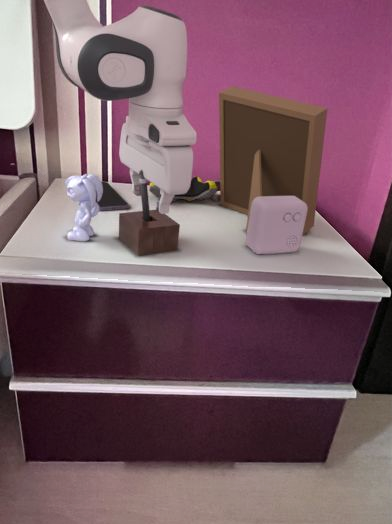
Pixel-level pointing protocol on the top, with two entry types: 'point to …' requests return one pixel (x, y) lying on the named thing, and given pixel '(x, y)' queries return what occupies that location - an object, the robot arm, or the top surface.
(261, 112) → the photo frame
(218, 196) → the wristwatch
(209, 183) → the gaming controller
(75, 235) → the toy figurine
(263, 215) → the electronic device
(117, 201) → the smartphone
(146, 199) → the stylus
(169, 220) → the pen block
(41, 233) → the top surface
